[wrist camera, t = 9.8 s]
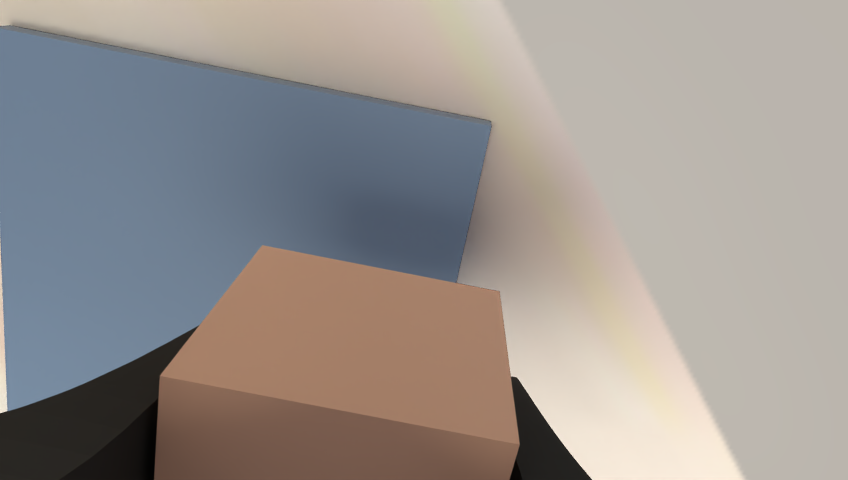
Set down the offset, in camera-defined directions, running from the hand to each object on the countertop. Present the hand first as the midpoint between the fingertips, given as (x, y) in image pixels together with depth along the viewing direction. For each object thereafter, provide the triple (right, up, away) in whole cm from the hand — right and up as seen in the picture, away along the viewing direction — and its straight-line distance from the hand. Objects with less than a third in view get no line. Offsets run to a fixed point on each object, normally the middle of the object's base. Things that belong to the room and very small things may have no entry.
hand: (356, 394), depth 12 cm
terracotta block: (0, 0, +1) cm, 1 cm away
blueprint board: (-5, -1, +10) cm, 11 cm away
